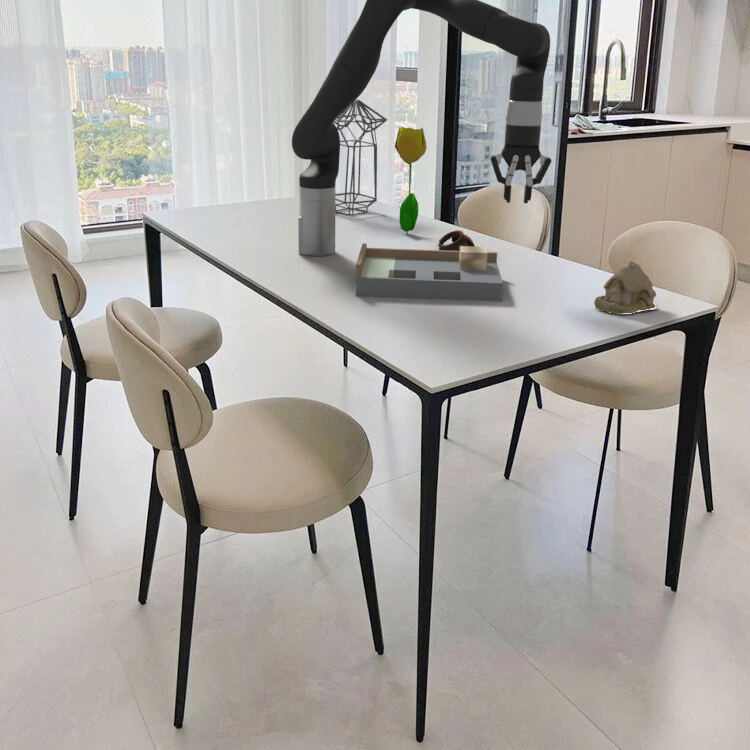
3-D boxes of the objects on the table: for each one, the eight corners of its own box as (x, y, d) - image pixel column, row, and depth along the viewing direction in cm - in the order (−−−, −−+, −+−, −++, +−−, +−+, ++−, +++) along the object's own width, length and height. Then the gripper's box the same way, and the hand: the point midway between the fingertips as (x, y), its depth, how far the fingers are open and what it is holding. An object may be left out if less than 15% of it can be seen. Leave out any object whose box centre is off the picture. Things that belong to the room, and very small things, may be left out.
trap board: (355, 295, 185) (355, 264, 183) (362, 271, 204) (362, 243, 201) (501, 300, 184) (504, 269, 181) (494, 276, 202) (497, 248, 200)
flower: (416, 238, 239) (420, 128, 228) (389, 235, 241) (392, 127, 230) (425, 232, 247) (429, 126, 235) (399, 229, 249) (402, 124, 238)
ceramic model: (620, 296, 190) (626, 252, 186) (665, 307, 182) (672, 262, 178) (584, 308, 181) (590, 262, 177) (630, 320, 173) (637, 273, 170)
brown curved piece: (480, 265, 214) (467, 239, 210) (446, 279, 217) (433, 253, 213) (478, 243, 224) (466, 217, 220) (446, 256, 227) (433, 231, 223)
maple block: (459, 269, 192) (460, 252, 191) (458, 262, 198) (459, 246, 196) (486, 270, 192) (487, 253, 191) (484, 263, 198) (485, 246, 196)
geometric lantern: (354, 206, 282) (358, 96, 269) (385, 215, 271) (391, 101, 258) (317, 210, 272) (319, 97, 259) (347, 220, 262) (352, 102, 248)
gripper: (492, 123, 179) (486, 204, 186) (558, 125, 179) (550, 206, 185) (489, 120, 186) (484, 198, 193) (554, 121, 186) (546, 200, 192)
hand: (516, 202), depth 189 cm, fingers open, 3 cm apart
